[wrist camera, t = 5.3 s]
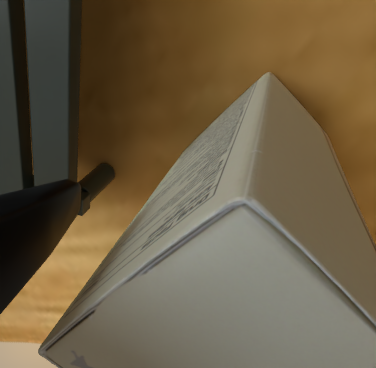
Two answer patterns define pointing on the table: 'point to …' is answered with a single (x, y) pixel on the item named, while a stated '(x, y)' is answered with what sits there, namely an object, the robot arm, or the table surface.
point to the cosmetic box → (235, 257)
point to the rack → (42, 97)
